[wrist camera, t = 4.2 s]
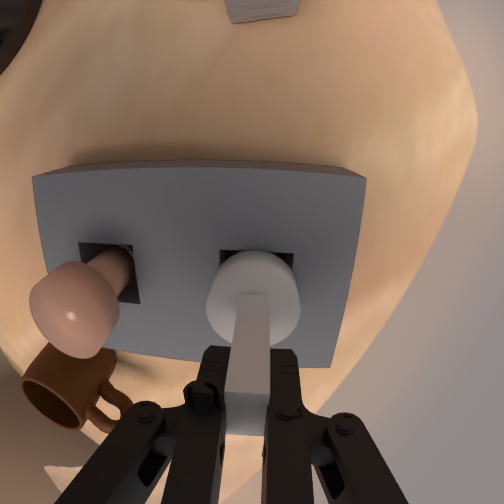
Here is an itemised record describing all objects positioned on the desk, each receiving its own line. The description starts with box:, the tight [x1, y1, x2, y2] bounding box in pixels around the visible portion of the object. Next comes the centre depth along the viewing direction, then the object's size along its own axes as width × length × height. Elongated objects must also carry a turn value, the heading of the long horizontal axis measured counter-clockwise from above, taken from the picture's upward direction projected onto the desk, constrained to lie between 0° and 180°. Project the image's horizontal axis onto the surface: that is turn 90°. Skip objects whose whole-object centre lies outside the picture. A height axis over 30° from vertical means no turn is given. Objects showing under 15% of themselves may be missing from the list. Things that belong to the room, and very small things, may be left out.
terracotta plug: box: [29, 245, 135, 359], centre depth 17 cm, size 5×5×8 cm
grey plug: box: [206, 250, 301, 346], centre depth 19 cm, size 5×5×8 cm
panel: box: [32, 160, 366, 368], centre depth 21 cm, size 14×22×5 cm, turn 88°
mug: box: [20, 342, 133, 434], centre depth 24 cm, size 12×8×9 cm, turn 73°
